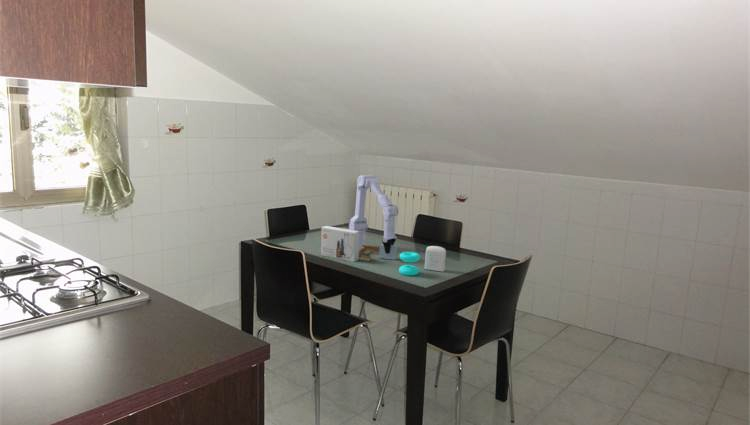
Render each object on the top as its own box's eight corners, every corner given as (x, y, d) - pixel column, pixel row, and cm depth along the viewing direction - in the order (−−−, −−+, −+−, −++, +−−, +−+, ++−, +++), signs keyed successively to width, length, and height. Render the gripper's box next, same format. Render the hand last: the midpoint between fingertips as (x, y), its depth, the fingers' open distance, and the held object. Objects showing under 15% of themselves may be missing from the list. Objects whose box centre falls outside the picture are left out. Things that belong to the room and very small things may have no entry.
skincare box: (320, 255, 291) (320, 227, 288) (325, 253, 295) (326, 225, 293) (353, 262, 281) (354, 232, 278) (359, 259, 286) (360, 230, 283)
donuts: (421, 252, 267) (419, 257, 257) (419, 271, 269) (418, 277, 259) (401, 250, 269) (398, 255, 259) (400, 269, 270) (397, 275, 261)
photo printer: (445, 270, 273) (446, 246, 271) (443, 272, 269) (445, 248, 267) (425, 267, 276) (426, 244, 274) (423, 269, 272) (425, 246, 270)
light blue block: (381, 256, 293) (381, 243, 292) (396, 258, 290) (397, 245, 289) (379, 257, 290) (379, 245, 289) (394, 259, 287) (395, 247, 286)
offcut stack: (362, 258, 289) (362, 250, 288) (371, 259, 287) (371, 251, 286) (360, 259, 286) (361, 251, 285) (369, 260, 285) (369, 252, 284)
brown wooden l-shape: (363, 251, 303) (363, 244, 303) (385, 254, 299) (386, 247, 298) (355, 256, 292) (355, 249, 292) (378, 259, 288) (379, 252, 287)
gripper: (392, 231, 279) (391, 256, 282) (400, 226, 293) (399, 250, 295) (379, 229, 281) (378, 254, 284) (388, 225, 295) (387, 249, 297)
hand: (388, 252), depth 290 cm, fingers closed on light blue block, 3 cm apart
